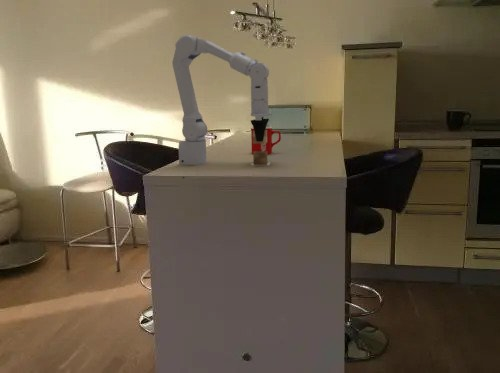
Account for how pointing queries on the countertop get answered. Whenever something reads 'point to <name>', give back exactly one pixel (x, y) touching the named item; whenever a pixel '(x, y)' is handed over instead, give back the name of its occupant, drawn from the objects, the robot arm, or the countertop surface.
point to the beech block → (263, 139)
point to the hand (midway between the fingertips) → (260, 140)
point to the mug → (267, 145)
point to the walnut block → (260, 158)
